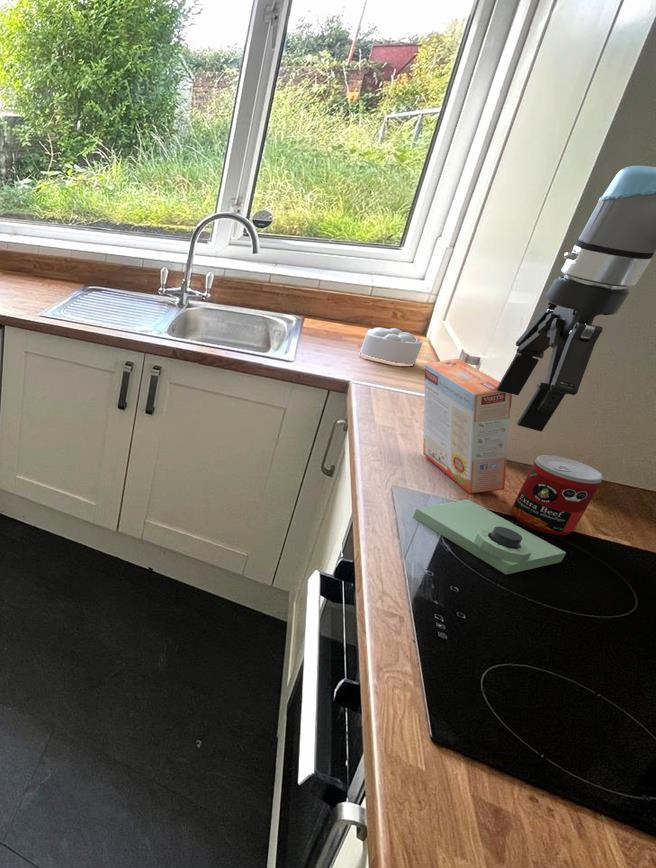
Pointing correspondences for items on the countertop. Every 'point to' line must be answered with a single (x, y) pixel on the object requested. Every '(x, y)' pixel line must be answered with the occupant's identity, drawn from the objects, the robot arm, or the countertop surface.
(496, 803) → the countertop surface
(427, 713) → the countertop surface
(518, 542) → the button
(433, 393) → the cracker box
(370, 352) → the lumpy-topped squat cylinder
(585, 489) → the canned food
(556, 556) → the scale
